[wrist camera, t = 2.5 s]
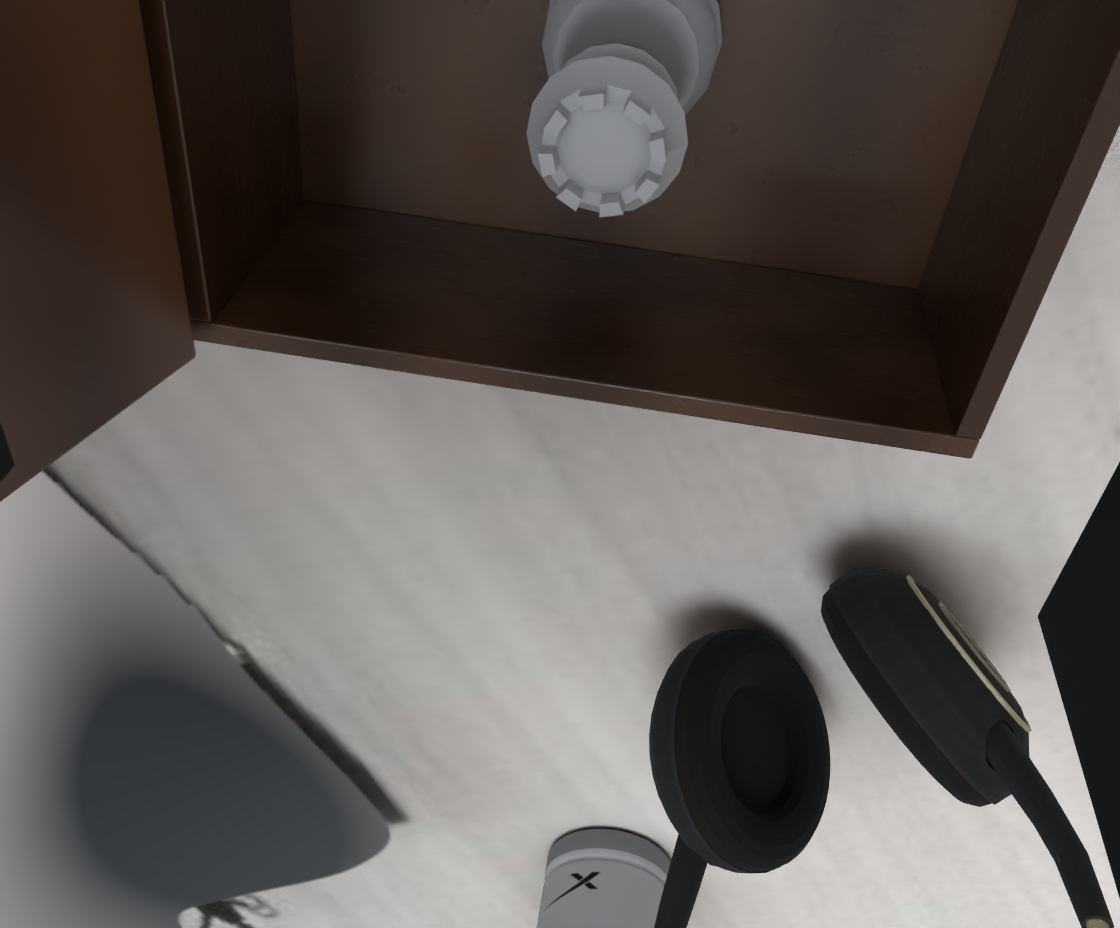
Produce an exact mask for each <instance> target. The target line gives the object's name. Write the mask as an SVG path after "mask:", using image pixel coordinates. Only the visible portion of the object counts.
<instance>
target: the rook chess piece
mask: <svg viewBox="0 0 1120 928" xmlns="http://www.w3.org/2000/svg"><path fill="white" fill-rule="evenodd" d="M721 45H722V33H721V22H720V10H719V4H718V3H717V1H716V0H550V5H549V9H548V14H547V19H546V25H545V30H544V35H543V40H542V47H543V53H544V58H545V63H546V69H547V74H548V78H549V80H548V81H547V83H546V84H545V85H544V87H543V88H542V90H541V91H540V93H539V94H538V96H537V97H536V99H535V100H534V101H533V103H532V107H531V113H530V118H529V123H528V128H527V133H526V134H527V138H528V143H529V148H530V153H531V158H532V163H533V165H534V166H535V168H536V169H537V171H538V172H539V174H540V175H541V177H542V178H543V180H544V181H545V183H546V184H547V186H548V187H549V189H551V190H552V191H554V192H555V193H556V194H557V196H556V198H558V199H559V200H561V201H562V202H563V203H565V204H566V205H568V206H569V207H570V208H572V209H573V210H575V211H576V210H577V208H578V207H580V208H584V209H588V210H591V211H595V212H599V213H600V215H599V217H607V216H616V215H623V214H624V211H631V210H635V209H637V208H639V207H640V206H642V205H644V204H646V203H648V202H650V201H652V200H654V199H656V198H657V197H659V196H660V195H661V194H662V193H663V192H664V191H665V189H666V188H667V187H668V186H669V185H670V183H671V182H672V181H673V180H674V179H675V177H676V176H677V175H678V174H679V172H680V169H681V165H682V162H683V159H684V155H685V152H686V149H687V146H688V139H687V130H686V121H685V115H687V113H688V112H689V111H690V110H691V108H692V107H693V106H694V105H695V104H696V102H697V101H698V100H699V99H700V97H701V96H702V95H703V94H704V92H705V91H706V90H707V89H708V87H709V84H710V81H711V77H712V74H713V71H714V68H715V64H716V61H717V58H718V55H719V51H720V48H721Z"/></svg>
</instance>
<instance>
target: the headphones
mask: <svg viewBox="0 0 1120 928" xmlns="http://www.w3.org/2000/svg"><path fill="white" fill-rule="evenodd" d="M821 613H822V617H823V620H824V622H825V624H826V627H827V629H828V631H829V633H830V636H831V638H832V640H833V642H834V643H835V645H836V647H837V649H838V651H839V653H840V654H841V656H842V658H843V659H844V661H845V662H846V664H847V666H848V667H849V669H850V671H851V672H852V674H853V675H854V677H855V678H856V680H857V681H858V683H859V684H860V686H861V687H862V689H863V690H864V692H865V693H866V694H867V696H868V697H869V699H870V700H871V701H872V703H873V704H874V705H875V707H876V708H877V710H878V711H879V712H880V714H881V715H882V717H883V718H884V719H885V721H886V722H887V723H888V724H889V726H890V727H891V728H892V729H893V731H894V732H895V733H896V735H897V736H898V737H899V738H900V740H901V741H902V742H903V743H904V745H905V746H906V747H907V748H908V749H909V751H910V752H911V753H912V754H913V755H914V757H915V758H916V759H917V760H918V761H919V762H920V764H921V765H922V766H923V767H924V768H925V769H926V770H927V771H928V772H929V773H930V774H931V775H932V776H933V777H934V778H935V780H937V781H938V782H939V783H940V784H941V785H942V786H943V787H944V788H945V789H946V790H947V791H949V792H950V793H951V794H952V795H953V796H954V797H955V798H957V799H958V800H959V801H961V802H963V803H966V804H970V805H974V806H979V807H981V806H985V805H988V804H992V803H993V804H997V803H998V802H1000V801H1001V800H1003V799H1004V798H1006V797H1008V796H1009V795H1011V794H1012V795H1013V797H1014V798H1015V799H1016V801H1017V802H1018V804H1019V805H1020V806H1021V808H1022V809H1023V811H1024V812H1025V813H1026V815H1027V816H1028V818H1029V819H1030V820H1031V822H1032V823H1033V825H1034V826H1035V828H1036V830H1037V831H1038V833H1039V835H1040V837H1041V838H1042V840H1043V842H1044V844H1045V845H1046V847H1047V849H1048V850H1049V852H1050V854H1051V856H1052V857H1053V859H1054V861H1055V863H1056V865H1057V868H1058V870H1059V873H1060V875H1061V878H1062V880H1063V883H1064V885H1065V888H1066V890H1067V892H1068V895H1069V897H1070V900H1071V902H1072V905H1073V907H1074V910H1075V912H1076V915H1077V917H1078V920H1079V922H1080V925H1081V927H1082V928H1114V925H1113V922H1112V919H1111V916H1110V913H1109V911H1108V908H1107V905H1106V902H1105V900H1104V897H1103V894H1102V891H1101V889H1100V886H1099V883H1098V880H1097V878H1096V875H1095V872H1094V869H1093V866H1092V864H1091V861H1090V858H1089V855H1088V853H1087V851H1086V849H1085V848H1084V846H1083V844H1082V842H1081V841H1080V839H1079V837H1078V836H1077V834H1076V832H1075V830H1074V829H1073V827H1072V825H1071V824H1070V822H1069V820H1068V818H1067V817H1066V815H1065V813H1064V811H1063V810H1062V808H1061V806H1060V805H1059V803H1058V801H1057V799H1056V798H1055V796H1054V794H1053V793H1052V791H1051V789H1050V788H1049V786H1048V785H1047V783H1046V782H1045V780H1044V779H1043V777H1042V776H1041V774H1040V773H1039V771H1038V770H1037V768H1036V767H1035V765H1034V764H1033V762H1032V761H1031V759H1030V758H1029V732H1030V731H1031V728H1030V726H1029V724H1028V722H1027V720H1026V719H1025V717H1024V715H1023V712H1022V709H1021V707H1020V705H1019V704H1018V702H1017V701H1016V699H1015V698H1014V696H1013V695H1012V693H1011V692H1010V691H1011V690H1010V688H1009V687H1008V685H1007V684H1006V682H1005V681H1004V679H1003V678H1002V677H1001V675H1000V674H999V673H998V671H997V670H996V669H995V667H994V666H993V665H992V663H991V662H990V661H989V659H988V658H987V657H986V656H985V654H984V653H983V652H982V650H981V649H980V648H979V647H978V645H977V644H976V643H975V642H974V640H973V639H972V638H971V637H970V635H969V634H968V633H967V632H966V630H965V629H964V628H963V627H962V626H961V624H960V623H959V622H958V621H957V619H956V618H955V617H954V616H953V615H952V614H951V612H950V611H949V610H948V609H947V608H946V607H945V606H944V605H943V604H942V603H941V602H939V601H938V600H937V599H936V598H935V597H934V596H933V594H932V593H931V592H930V591H929V590H928V589H926V588H925V587H923V586H922V585H920V584H919V583H918V582H917V581H916V580H915V579H914V578H913V577H911V576H910V575H907V576H903V575H899V574H896V573H892V572H889V571H885V570H879V569H867V568H858V569H855V570H853V571H850V572H848V573H846V574H845V575H844V576H842V577H841V578H839V579H838V580H837V581H835V582H834V583H832V584H831V585H830V589H829V590H828V591H827V592H826V593H825V594H824V596H823V600H822V607H821ZM649 748H650V761H651V767H652V774H653V778H654V782H655V785H656V789H657V792H658V796H659V798H660V800H661V802H662V805H663V807H664V809H665V811H666V814H667V816H668V818H669V819H670V821H671V823H672V824H673V826H674V827H675V829H676V830H677V832H678V833H679V835H678V838H677V842H676V845H675V849H674V852H673V856H672V859H671V863H670V867H669V870H668V874H667V878H666V881H665V885H664V889H663V892H662V896H661V900H660V903H659V908H658V912H657V917H656V921H655V925H654V928H686V927H687V924H688V921H689V918H690V915H691V912H692V909H693V906H694V903H695V900H696V897H697V894H698V891H699V888H700V885H701V882H702V878H703V875H704V872H705V869H706V866H707V863H709V865H714V866H718V867H720V868H723V869H725V870H728V871H732V872H736V873H766V872H769V871H771V870H774V869H776V868H779V867H781V866H782V865H784V864H786V863H789V862H790V861H791V860H793V859H794V858H795V857H797V856H798V855H799V854H800V852H801V851H802V850H803V849H804V848H805V847H806V845H807V844H808V842H809V841H810V839H811V837H812V836H813V834H814V832H815V830H816V828H817V826H818V824H819V822H820V819H821V817H822V814H823V811H824V807H825V804H826V800H827V794H828V789H829V779H830V748H829V740H828V733H827V728H826V723H825V719H824V715H823V712H822V708H821V706H820V703H819V700H818V697H817V695H816V693H815V691H814V688H813V686H812V684H811V683H810V681H809V679H808V677H807V675H806V674H805V673H804V671H803V670H802V668H801V667H800V665H799V664H798V663H797V662H796V661H795V659H794V658H793V657H792V656H791V655H790V654H789V653H788V651H786V650H785V649H784V648H783V647H782V646H781V645H780V644H778V643H777V642H775V641H774V640H772V639H770V638H768V637H766V636H763V635H760V634H757V633H755V632H752V631H746V630H741V629H738V630H730V631H722V632H716V633H711V634H708V635H706V636H704V637H702V638H700V639H698V640H696V641H694V642H692V643H690V644H689V645H688V646H687V647H686V648H685V649H683V650H682V651H681V652H680V653H679V654H678V655H677V657H676V658H675V660H674V661H673V662H672V664H671V665H670V667H669V668H668V670H667V672H666V675H665V677H664V679H663V681H662V684H661V686H660V688H659V690H658V692H657V696H656V700H655V704H654V707H653V711H652V716H651V725H650V733H649Z"/></svg>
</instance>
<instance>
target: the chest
mask: <svg viewBox="0 0 1120 928" xmlns="http://www.w3.org/2000/svg"><path fill="white" fill-rule="evenodd" d="M716 1H717V3H718V4H719V10H720V22H721V33H722V45H721V48H720V51H719V55H718V58H717V61H716V64H715V68H714V71H713V74H712V77H711V81H710V84H709V87H708V89H707V90H706V91H705V92H704V94H703V95H702V96H701V97H700V99H699V100H698V101H697V102H696V104H695V105H694V106H693V107H692V108H691V110H690V111H689V112H688V113H687V115H685V121H686V130H687V139H688V146H687V149H686V152H685V155H684V159H683V162H682V165H681V169H680V172H679V174H678V175H677V176H676V177H675V179H674V180H673V181H672V182H671V183H670V185H669V186H668V187H667V188H666V189H665V191H664V192H663V193H662V194H661V195H660V196H659V197H657V198H656V199H654V200H652V201H650V202H648V203H646V204H644V205H642V206H640V207H639V208H637V209H635V210H631V211H624V214H623V215H616V216H607V217H599V215H600V213H599V212H595V211H591V210H588V209H584V208H580V207H578V208H577V210H576V211H575V210H573V209H572V208H570V207H569V206H568V205H566V204H565V203H563V202H562V201H561V200H559V199H558V198H556V196H557V194H556V193H555V192H554V191H552V190H551V189H549V187H548V186H547V184H546V183H545V181H544V180H543V178H542V177H541V175H540V174H539V172H538V171H537V169H536V168H535V166H534V165H533V163H532V158H531V153H530V148H529V143H528V138H527V134H526V133H527V128H528V123H529V118H530V113H531V107H532V103H533V101H534V100H535V99H536V97H537V96H538V94H539V93H540V91H541V90H542V88H543V87H544V85H545V84H546V83H547V81H548V80H549V78H548V74H547V69H546V63H545V58H544V53H543V47H542V40H543V35H544V30H545V25H546V19H547V14H548V9H549V5H550V0H139V5H140V11H141V17H142V23H143V29H144V36H145V42H146V48H147V54H148V61H149V67H150V73H151V79H152V85H153V92H154V98H155V104H156V110H157V117H158V123H159V129H160V135H161V141H162V148H163V154H164V160H165V166H166V173H167V179H168V185H169V191H170V197H171V204H172V210H173V216H174V222H175V229H176V235H177V241H178V247H179V253H180V260H181V266H182V272H183V278H184V285H185V291H186V297H187V303H188V309H189V316H190V322H191V328H192V334H193V340H197V341H204V342H210V343H217V344H223V345H230V346H237V347H243V348H250V349H256V350H263V351H269V352H276V353H282V354H289V355H296V356H302V357H309V358H315V359H322V360H328V361H335V362H341V363H348V364H354V365H361V366H368V367H374V368H381V369H387V370H394V371H400V372H407V373H413V374H420V375H426V376H433V377H440V378H446V379H453V380H459V381H466V382H472V383H479V384H485V385H492V386H498V387H505V388H512V389H518V390H525V391H531V392H538V393H544V394H551V395H557V396H564V397H570V398H577V399H584V400H590V401H597V402H603V403H610V404H616V405H623V406H629V407H636V408H642V409H649V410H656V411H662V412H669V413H675V414H682V415H688V416H695V417H701V418H708V419H715V420H721V421H728V422H734V423H741V424H747V425H754V426H760V427H767V428H773V429H780V430H787V431H793V432H800V433H806V434H813V435H819V436H826V437H832V438H839V439H845V440H852V441H859V442H865V443H872V444H878V445H885V446H891V447H898V448H904V449H911V450H917V451H924V452H931V453H937V454H944V455H950V456H957V457H963V458H972V456H973V454H974V452H975V450H976V447H977V445H978V443H979V439H981V437H982V435H983V432H984V430H985V428H986V426H987V423H988V421H989V419H990V417H991V414H992V412H993V410H994V408H995V405H996V403H997V401H998V399H999V396H1000V394H1001V392H1002V389H1003V387H1004V385H1005V383H1006V380H1007V378H1008V376H1009V374H1010V371H1011V369H1012V367H1013V365H1014V362H1015V360H1016V358H1017V356H1018V353H1019V351H1020V349H1021V347H1022V344H1023V342H1024V340H1025V337H1026V335H1027V333H1028V331H1029V328H1030V326H1031V324H1032V322H1033V319H1034V317H1035V315H1036V313H1037V310H1038V308H1039V306H1040V304H1041V301H1042V299H1043V297H1044V295H1045V292H1046V290H1047V288H1048V285H1049V283H1050V281H1051V279H1052V276H1053V274H1054V272H1055V270H1056V267H1057V265H1058V263H1059V261H1060V258H1061V256H1062V254H1063V252H1064V249H1065V247H1066V245H1067V243H1068V240H1069V238H1070V236H1071V233H1072V231H1073V229H1074V227H1075V224H1076V222H1077V220H1078V218H1079V215H1080V213H1081V211H1082V209H1083V206H1084V204H1085V202H1086V200H1087V197H1088V195H1089V193H1090V191H1091V188H1092V186H1093V184H1094V181H1095V179H1096V177H1097V175H1098V172H1099V170H1100V168H1101V166H1102V163H1103V161H1104V159H1105V157H1106V154H1107V152H1108V150H1109V148H1110V145H1111V143H1112V141H1113V138H1114V136H1115V134H1116V132H1117V129H1118V127H1119V125H1120V0H716Z"/></svg>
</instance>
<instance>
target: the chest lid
mask: <svg viewBox="0 0 1120 928" xmlns="http://www.w3.org/2000/svg"><path fill="white" fill-rule="evenodd" d="M195 355H196V353H195V347H194V341H193V334H192V328H191V322H190V316H189V309H188V303H187V297H186V291H185V285H184V278H183V272H182V266H181V260H180V253H179V247H178V241H177V235H176V229H175V222H174V216H173V210H172V204H171V197H170V191H169V185H168V179H167V173H166V166H165V160H164V154H163V148H162V141H161V135H160V129H159V123H158V117H157V110H156V104H155V98H154V92H153V85H152V79H151V73H150V67H149V61H148V54H147V48H146V42H145V36H144V29H143V23H142V17H141V11H140V5H139V0H0V422H1V425H2V428H3V431H4V434H5V437H6V440H7V443H8V446H9V449H10V451H11V454H12V457H13V460H14V463H15V466H14V467H13V468H12V469H11V471H10V472H9V473H8V474H7V475H6V476H5V478H4V479H3V480H2V481H1V482H0V501H2V500H3V499H4V498H6V497H7V496H8V495H10V494H11V493H12V492H14V491H15V490H16V489H18V488H19V487H20V486H22V485H23V484H24V483H26V482H27V481H29V480H30V479H31V478H33V477H34V476H35V475H37V474H38V473H40V472H41V471H42V470H44V469H45V468H46V467H48V466H49V465H50V464H52V463H53V462H54V461H56V460H57V459H58V458H60V457H61V456H62V455H64V454H65V453H66V452H68V451H69V450H71V449H72V448H73V447H75V446H76V445H77V444H79V443H80V442H81V441H83V440H84V439H85V438H87V437H88V436H89V435H91V434H92V433H93V432H95V431H96V430H98V429H99V428H100V427H102V426H103V425H104V424H106V423H107V422H108V421H110V420H111V419H112V418H114V417H115V416H116V415H118V414H119V413H120V412H122V411H123V410H125V409H126V408H127V407H129V406H130V405H131V404H133V403H134V402H135V401H137V400H138V399H139V398H141V397H142V396H143V395H145V394H146V393H147V392H149V391H150V390H152V389H153V388H154V387H156V386H157V385H158V384H160V383H161V382H162V381H164V380H165V379H166V378H168V377H169V376H170V375H172V374H173V373H174V372H176V371H177V370H178V369H180V368H181V367H183V366H184V365H185V364H187V363H188V362H189V361H191V360H192V359H193V358H194V357H195Z"/></svg>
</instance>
